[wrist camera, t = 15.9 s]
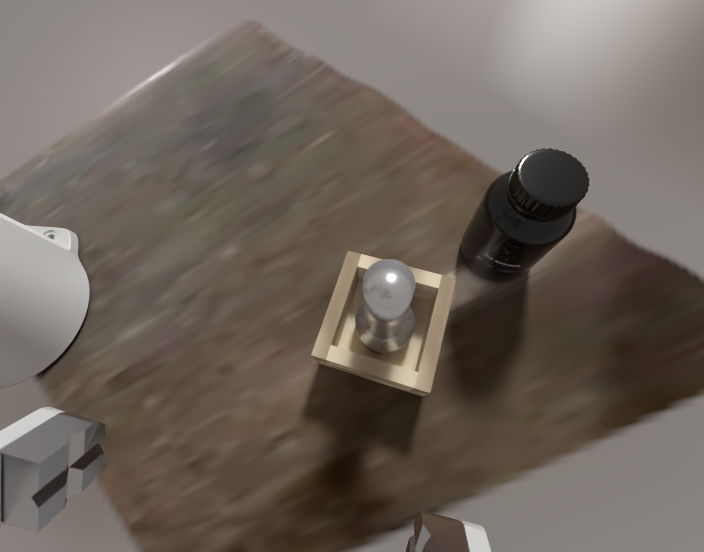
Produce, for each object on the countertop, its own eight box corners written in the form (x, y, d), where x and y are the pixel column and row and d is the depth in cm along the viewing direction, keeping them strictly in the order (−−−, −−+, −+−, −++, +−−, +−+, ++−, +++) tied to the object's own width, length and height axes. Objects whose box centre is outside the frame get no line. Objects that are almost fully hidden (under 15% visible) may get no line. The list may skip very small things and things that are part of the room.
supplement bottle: (473, 292, 34) (522, 229, 23) (450, 230, 36) (484, 146, 25) (543, 276, 34) (625, 206, 23) (515, 215, 36) (577, 126, 25)
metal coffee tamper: (349, 344, 32) (337, 309, 21) (365, 293, 33) (361, 237, 23) (404, 361, 31) (419, 333, 21) (418, 308, 32) (438, 257, 22)
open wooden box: (319, 363, 32) (311, 355, 28) (351, 270, 35) (348, 250, 31) (422, 396, 31) (430, 393, 26) (446, 296, 34) (456, 279, 30)
